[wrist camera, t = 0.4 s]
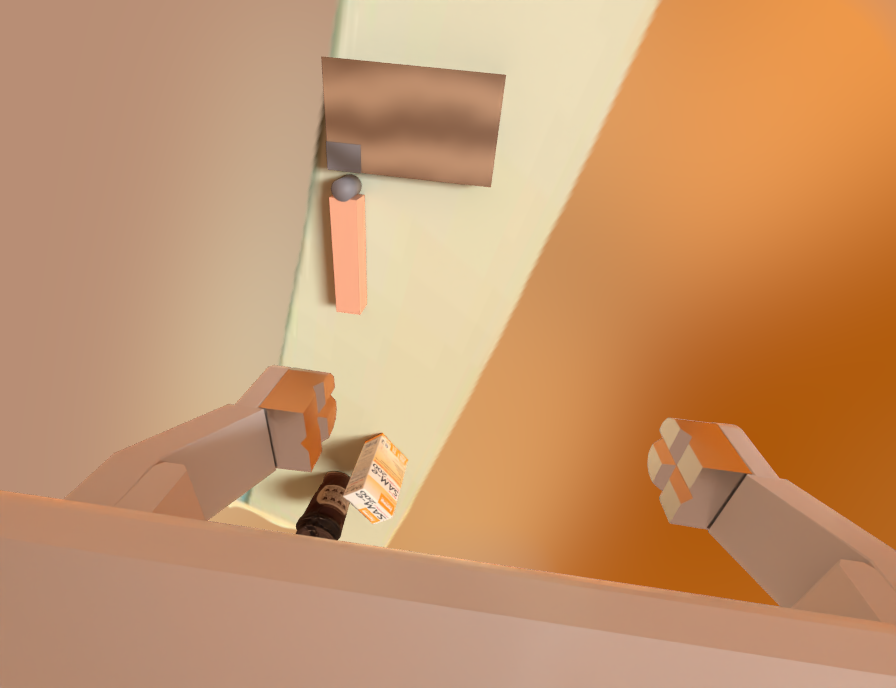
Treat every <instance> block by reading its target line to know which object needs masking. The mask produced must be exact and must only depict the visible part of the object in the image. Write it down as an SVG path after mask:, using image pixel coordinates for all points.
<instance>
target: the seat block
mask: <svg viewBox="0 0 896 688" xmlns="http://www.w3.org/2000/svg"><path fill="white" fill-rule="evenodd" d="M321 59H322V74H323V90H324V105H325V121H326V136H327V141H326V151H327V166H328V170H337V171H346V172H355V173H368V174H377V175H386V176H395V177H404V178H413V179H422V180H431V181H440V182H448V183H457V184H466V185H475V186H484V187H491V181H492V174H493V167H494V159H495V152H496V145H497V137H498V130H499V122H500V115H501V108H502V100H503V93H504V86H505V78H506V75H501V74H491V73H481V72H471V71H461V70H451V69H441V68H431V67H421V66H411V65H401V64H391V63H381V62H371V61H361V60H351V59H341V58H331V57H321Z"/></svg>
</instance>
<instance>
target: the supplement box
mask: <svg viewBox="0 0 896 688" xmlns="http://www.w3.org/2000/svg"><path fill="white" fill-rule="evenodd" d="M407 461H408V459H407V458H406V457H405V456H404V455H403V454H402V453H401V452H400V451H399V450H398V449H397V448H396V447H395V446H394V445H393V444H392V443H391V442H390V441H389V440H388V439H387V437H386V436H385V435H384V434H383V433H381V434H380V435H377V436H375V437H373V438H371V439H369V440H367V441H365V443H364V446H363V448H362V451H361V453H360V455H359V458H358V460H357V463H356V465H355V468H354V470H353V473H352V475H351V478H350V480H349V483H348V485H347V488H346V490H345V493H344V495H343V497H344V498H345V499H346V500H348V501H349V502H350V503H351V504H352V505H353V506H354V507H355V508H356V509H357V510H358V511H359V512H360V513H362V514H363V515H364V516H365V517H366V518H367V519H368V520H369V521H370V522H371V523H372V524H376V523H379V522H382V521H385V520H387V519H390V518H392V517H393V515H394V511H395V507H396V503H397V500H398V496H399V492H400V488H401V484H402V480H403V476H404V473H405V469H406V465H407Z"/></svg>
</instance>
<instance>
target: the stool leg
mask: <svg viewBox="0 0 896 688" xmlns="http://www.w3.org/2000/svg"><path fill="white" fill-rule="evenodd" d="M361 187H362V186H361V182H360V180H359V178H358V177H357V176H355V175H352V174H349V175H346V176H344V177H342V178H340V179H338V180H336V181H334V182H333V184H332V187H331V191H332V194H333V195H332V196H330V197H329V204H330V219H331V234H332V249H333V265H334V280H335V295H336V310H337V312H344V313H351V314H359V315H360V314H361V313H362V311H363V310H364V308H365V306H366V305H367V286H366V239H365V195H362V194H358V193H359V192H360V191H361Z"/></svg>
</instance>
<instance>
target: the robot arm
mask: <svg viewBox="0 0 896 688" xmlns="http://www.w3.org/2000/svg"><path fill="white" fill-rule="evenodd" d="M334 388H335V383H334V376H333V375H332V374H331V373H326V372H319V371H313V370H306V369H300V368H291V367H285V366H278V365H272V366H269V367H268V368H267V369H266V370H265V371H264V372H263V373H262V374H261V375H260V377H259V378H258V379H257V380H256V381H255V382H254V383H253V384H252V386H251V387H250V388H249V389H248V390H247V391H246V392H245V394H244V395H243V396H242V397H241V398H240V399H239V400H238V401H237V403H236V404H235V405H232V404H227V405H225V406H223V407H220V408H218V409H216V410H213V411H211V412H209V413H206V414H204V415H202V416H199V417H197V418H195V419H192V420H190V421H188V422H185V423H183V424H181V425H178V426H176V427H174V428H171V429H169V430H167V431H164V432H162V433H160V434H157V435H155V436H153V437H150V438H148V439H146V440H143V441H141V442H139V443H136V444H134V445H132V446H129V447H127V448H125V449H122V450H120V451H118V452H115V453H114V454H113V455H112V456H110V457H109V458H108V459H107V460H106V461H105V462H104V463H103V464H102V465H100V466H99V467H98V468H97V469H96V470H95V471H94V472H93V473H92V474H90V475H89V476H88V477H87V478H86V479H85V480H84V481H83V482H82V483H81V484H79V485H78V486H77V487H76V488H75V489H74V490H73V491H72V492H70V493H69V494H68V495H67V496H66V497H65V498H64V499H57V498H51V497H44V496H37V495H30V494H24V493H17V492H10V491H4V490H0V688H896V551H895V550H894V549H892V548H891V547H889V546H888V545H886V544H885V543H883V542H882V541H880V540H879V539H877V538H875V537H874V536H872V535H871V534H869V533H868V532H866V531H865V530H863V529H862V528H860V527H858V526H857V525H855V524H854V523H852V522H851V521H849V520H848V519H846V518H844V517H843V516H841V515H840V514H839V513H837V512H835V511H834V510H832V509H831V508H829V507H828V506H826V505H825V504H823V503H822V502H820V501H819V500H817V499H816V498H814V497H812V496H811V495H809V494H808V493H806V492H805V491H803V490H802V489H800V488H799V487H797V486H796V485H794V484H793V483H791V482H789V481H788V480H785V479H779V477H778V476H777V475H776V473H775V472H774V471H773V470H772V468H771V467H770V466H769V464H768V463H767V462H766V460H765V459H764V458H763V457H762V455H761V454H760V453H759V451H758V450H757V449H756V447H755V446H754V445H753V444H752V442H751V441H750V440H749V439H748V437H747V436H746V434H745V433H744V432H743V431H742V429H741V428H739V427H737V426H736V425H731V424H722V423H707V422H699V421H690V420H683V419H675V418H667V419H666V420H665V421H664V422H663V424H662V426H661V428H660V433H661V435H662V437H663V438H661V439H660V440H658V441H656V442H655V443H653V444H652V447H651V449H650V451H649V454H648V471H649V475H650V477H651V480H652V482H653V483H654V484H655V485H656V486H657V487H658V488H659V489H661V490H662V493H661V495H660V497H659V499H660V502H661V504H662V506H663V509H664V511H665V513H666V516H667V518H668V520H669V523H672V524H678V525H684V526H690V527H695V528H702V529H707V530H708V532H709V533H710V534H711V535H712V536H713V537H714V538H715V539H716V540H717V541H718V542H719V543H720V545H721V546H722V547H723V548H724V549H725V550H726V551H727V552H728V553H729V554H730V555H731V556H732V557H733V558H734V559H735V560H736V561H737V562H738V563H739V564H740V565H741V566H742V567H743V568H744V569H745V570H746V571H747V572H748V573H749V574H750V575H751V577H752V578H754V580H755V581H756V582H757V583H758V584H759V585H760V586H761V587H762V588H763V589H764V590H765V591H766V592H767V593H768V594H769V595H770V596H771V597H772V598H773V599H774V600H775V601H776V602H777V603H778V604H779V606H780V607H778V606H771V605H765V604H758V603H752V602H745V601H738V600H732V599H725V598H718V597H712V596H705V595H699V594H692V593H685V592H678V591H672V590H665V589H658V588H651V587H645V586H638V585H632V584H625V583H617V582H612V581H605V580H598V579H592V578H584V577H577V576H571V575H564V574H558V573H551V572H545V571H538V570H531V569H525V568H518V567H511V566H505V565H498V564H491V563H484V562H478V561H471V560H465V559H458V558H452V557H445V556H438V555H432V554H424V553H418V552H412V551H405V550H398V549H392V548H385V547H378V546H371V545H365V544H358V543H351V542H345V541H338V540H331V539H325V538H318V537H311V536H305V535H298V534H291V533H285V532H278V531H271V530H265V529H258V528H251V527H245V526H237V525H231V524H224V523H218V522H211V521H208V520H209V519H210V518H212V517H213V516H214V515H216V514H217V513H218V512H220V511H221V510H222V509H224V508H225V507H227V506H228V505H229V504H231V503H232V502H233V501H235V500H236V499H237V498H239V497H240V496H241V495H243V494H244V493H246V492H247V491H248V490H250V489H251V488H252V487H254V486H255V485H256V484H258V483H259V482H260V481H262V480H263V479H265V478H266V477H267V476H269V475H270V474H271V473H273V472H274V471H275V470H276V468H279V469H288V470H297V471H306V472H312V470H313V468H314V466H315V464H316V462H317V460H318V458H319V456H320V454H321V452H322V445H321V442H323V441H324V440H326V439H328V438H329V436H330V434H331V432H332V430H333V427H334V423H335V420H336V411H337V407H336V401H335V399H334V398H333V397H332V396H331V393H332V392H333V390H334Z"/></svg>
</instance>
